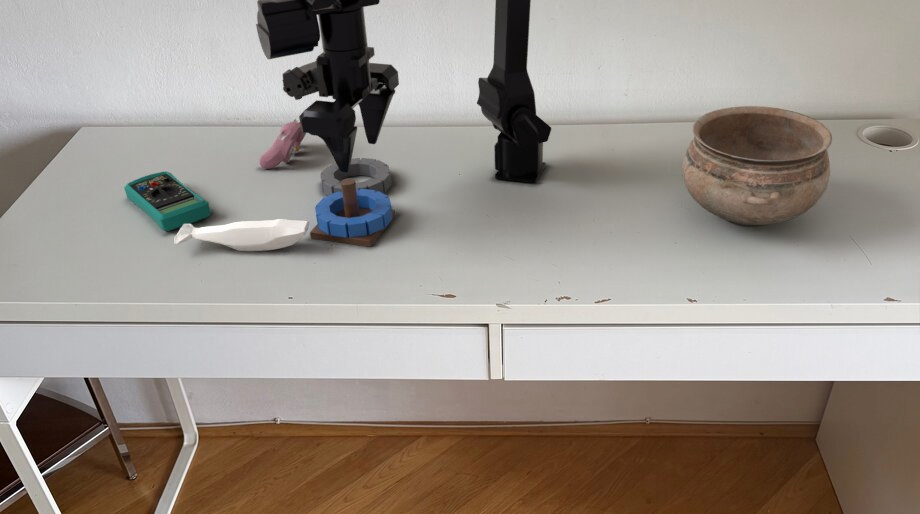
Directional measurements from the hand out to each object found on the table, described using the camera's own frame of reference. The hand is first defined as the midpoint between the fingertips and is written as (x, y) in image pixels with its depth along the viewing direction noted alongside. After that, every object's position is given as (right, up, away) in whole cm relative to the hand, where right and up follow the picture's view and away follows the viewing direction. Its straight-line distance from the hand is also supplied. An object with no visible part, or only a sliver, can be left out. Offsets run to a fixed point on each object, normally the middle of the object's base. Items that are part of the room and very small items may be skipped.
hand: (358, 157), depth 121 cm
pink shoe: (-14, +4, +21) cm, 26 cm away
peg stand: (-1, -9, +2) cm, 10 cm away
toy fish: (-15, -13, -1) cm, 20 cm away
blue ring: (-1, -8, +2) cm, 8 cm away
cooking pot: (+54, -8, +1) cm, 54 cm away
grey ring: (-2, -2, +12) cm, 13 cm away
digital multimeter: (-29, -6, +8) cm, 31 cm away
